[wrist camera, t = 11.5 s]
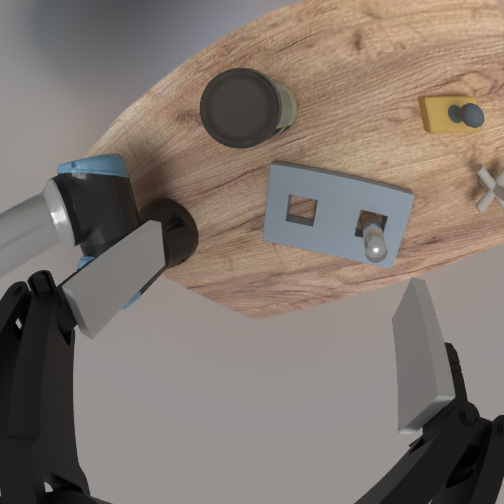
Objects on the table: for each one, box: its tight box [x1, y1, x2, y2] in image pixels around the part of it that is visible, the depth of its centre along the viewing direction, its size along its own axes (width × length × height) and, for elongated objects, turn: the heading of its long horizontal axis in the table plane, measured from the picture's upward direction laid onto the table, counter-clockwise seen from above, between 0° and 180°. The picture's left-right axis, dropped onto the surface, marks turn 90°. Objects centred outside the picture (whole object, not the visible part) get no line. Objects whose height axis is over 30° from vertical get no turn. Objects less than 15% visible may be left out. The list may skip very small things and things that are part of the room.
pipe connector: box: [475, 164, 504, 214], centre depth 29 cm, size 10×10×10 cm
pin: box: [361, 211, 387, 263], centre depth 40 cm, size 3×3×12 cm
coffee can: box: [200, 68, 298, 148], centre depth 35 cm, size 10×10×14 cm
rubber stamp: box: [419, 96, 484, 133], centre depth 26 cm, size 10×6×12 cm, turn 107°
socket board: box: [263, 161, 415, 269], centre depth 45 cm, size 24×14×3 cm, turn 86°
